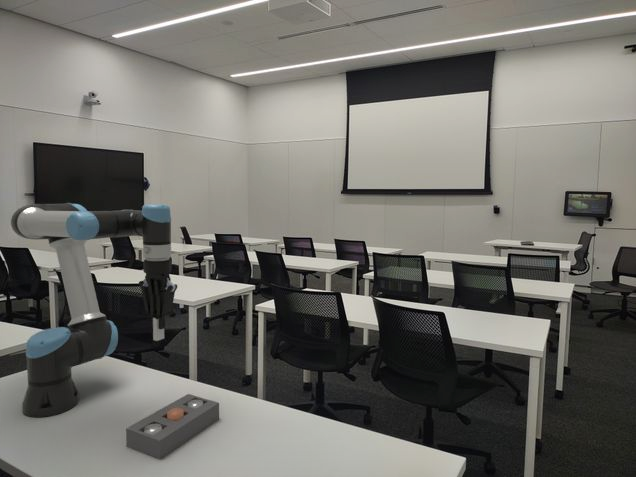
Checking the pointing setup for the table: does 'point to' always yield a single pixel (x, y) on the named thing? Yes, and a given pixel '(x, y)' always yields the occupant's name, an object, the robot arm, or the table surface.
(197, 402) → the steel button far
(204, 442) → the table surface
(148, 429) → the steel button near
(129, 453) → the table surface
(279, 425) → the table surface
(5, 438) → the table surface
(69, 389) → the robot arm
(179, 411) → the terracotta button
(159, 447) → the button console
